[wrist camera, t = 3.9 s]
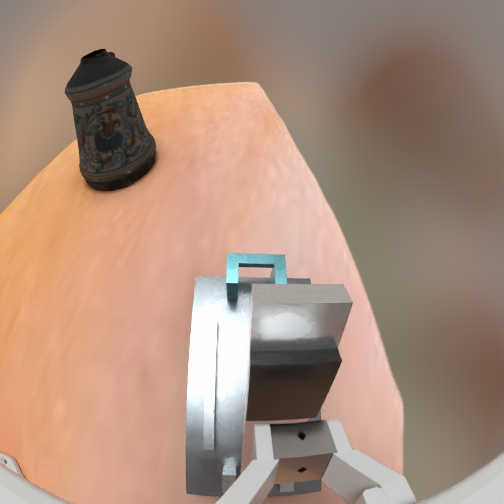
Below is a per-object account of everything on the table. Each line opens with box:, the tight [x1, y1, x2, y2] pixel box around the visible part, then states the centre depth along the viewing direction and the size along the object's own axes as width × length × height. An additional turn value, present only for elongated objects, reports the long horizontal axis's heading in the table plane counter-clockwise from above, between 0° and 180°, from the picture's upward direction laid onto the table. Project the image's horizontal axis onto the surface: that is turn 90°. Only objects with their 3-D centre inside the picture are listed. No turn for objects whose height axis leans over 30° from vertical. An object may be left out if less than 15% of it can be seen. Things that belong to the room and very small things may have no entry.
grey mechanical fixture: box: [186, 253, 321, 497], centre depth 26 cm, size 14×27×8 cm, turn 0°
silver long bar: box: [241, 283, 353, 474], centre depth 13 cm, size 3×23×2 cm
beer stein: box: [65, 49, 156, 191], centre depth 40 cm, size 16×19×25 cm
